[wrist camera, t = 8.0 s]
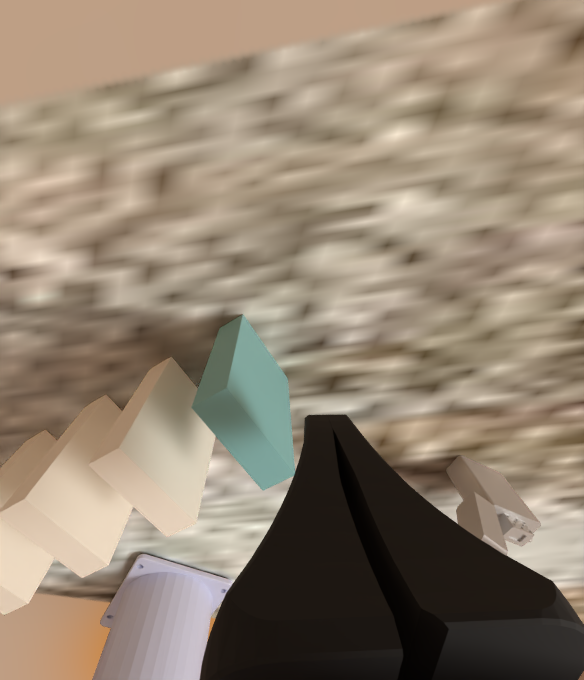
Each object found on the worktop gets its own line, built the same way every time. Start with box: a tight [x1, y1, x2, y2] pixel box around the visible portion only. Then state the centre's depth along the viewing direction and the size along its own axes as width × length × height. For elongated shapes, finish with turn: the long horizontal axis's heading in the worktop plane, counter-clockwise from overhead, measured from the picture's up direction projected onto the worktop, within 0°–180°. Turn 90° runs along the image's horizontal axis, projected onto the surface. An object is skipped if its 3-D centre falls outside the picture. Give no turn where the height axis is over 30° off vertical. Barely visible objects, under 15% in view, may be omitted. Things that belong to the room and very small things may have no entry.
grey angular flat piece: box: [446, 455, 541, 556], centre depth 22 cm, size 7×2×8 cm, turn 61°
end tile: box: [191, 315, 295, 490], centre depth 18 cm, size 2×5×8 cm, turn 31°
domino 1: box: [0, 430, 57, 615], centre depth 20 cm, size 2×5×8 cm, turn 30°
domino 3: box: [88, 357, 215, 537], centre depth 19 cm, size 2×5×8 cm, turn 30°
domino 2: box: [0, 395, 133, 578], centre depth 20 cm, size 2×5×8 cm, turn 30°
